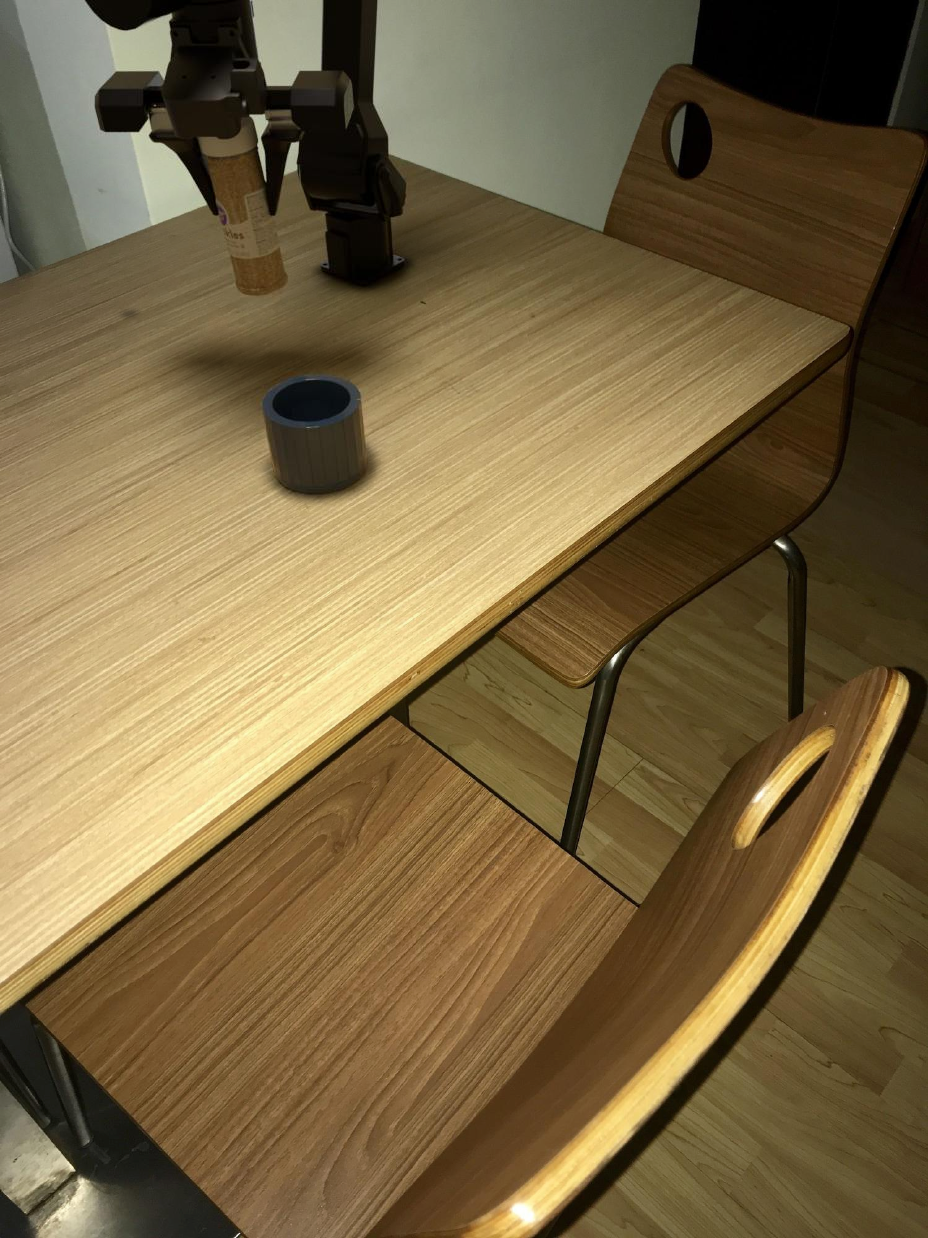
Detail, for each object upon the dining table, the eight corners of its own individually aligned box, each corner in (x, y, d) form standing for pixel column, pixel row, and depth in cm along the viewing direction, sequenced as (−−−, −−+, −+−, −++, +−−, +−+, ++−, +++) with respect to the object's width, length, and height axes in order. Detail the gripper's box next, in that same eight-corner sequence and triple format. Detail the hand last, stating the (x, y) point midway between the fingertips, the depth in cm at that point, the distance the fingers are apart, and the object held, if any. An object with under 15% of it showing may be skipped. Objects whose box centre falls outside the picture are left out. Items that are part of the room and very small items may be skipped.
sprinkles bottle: (226, 289, 86) (182, 125, 77) (266, 269, 88) (227, 107, 79) (260, 302, 84) (219, 134, 74) (300, 281, 86) (265, 115, 76)
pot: (319, 428, 82) (310, 363, 78) (386, 460, 79) (381, 394, 75) (254, 470, 78) (241, 405, 74) (321, 506, 75) (312, 439, 71)
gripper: (41, 25, 65) (104, 256, 76) (323, 23, 65) (346, 256, 75) (93, -16, 73) (143, 198, 84) (344, -17, 72) (362, 199, 83)
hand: (245, 213), depth 81 cm, fingers closed on sprinkles bottle, 4 cm apart
